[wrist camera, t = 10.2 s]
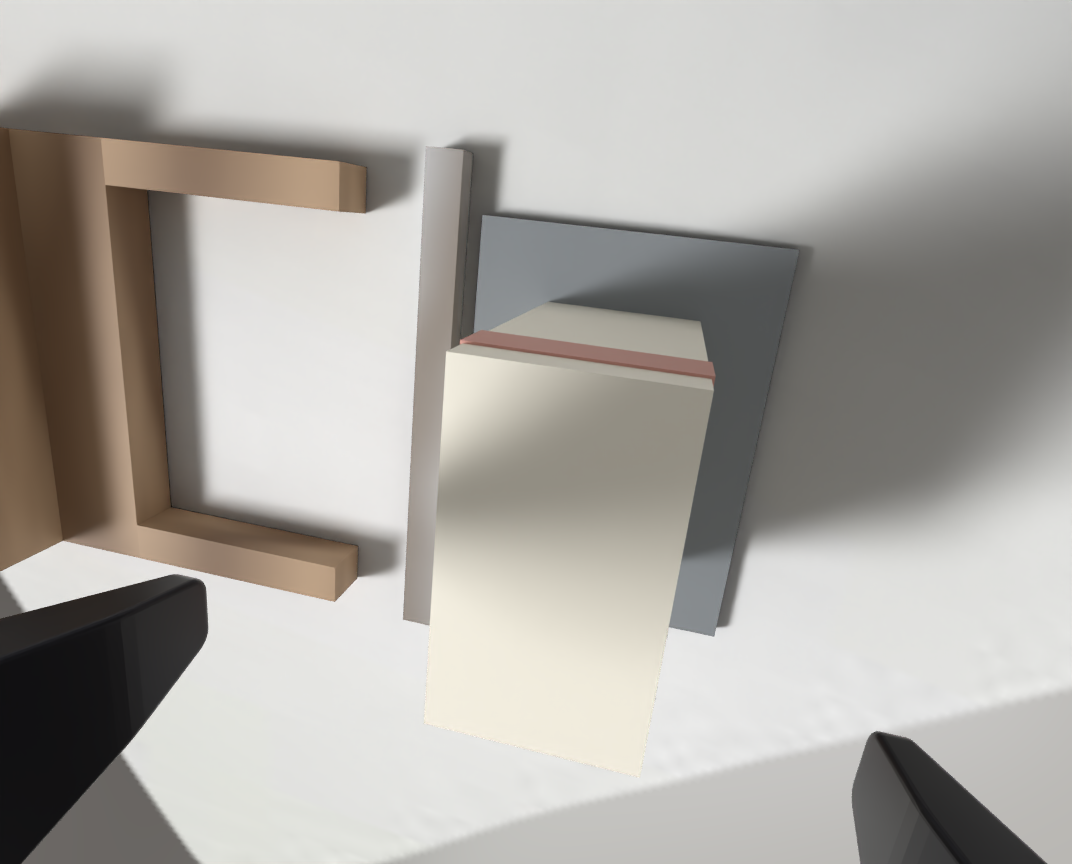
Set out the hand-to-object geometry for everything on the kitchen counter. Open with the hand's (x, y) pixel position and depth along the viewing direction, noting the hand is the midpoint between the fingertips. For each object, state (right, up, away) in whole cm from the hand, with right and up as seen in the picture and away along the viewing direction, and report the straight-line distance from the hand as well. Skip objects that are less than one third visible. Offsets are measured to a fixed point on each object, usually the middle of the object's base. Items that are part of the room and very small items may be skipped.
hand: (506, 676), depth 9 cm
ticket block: (+2, +3, +10) cm, 10 cm away
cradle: (-10, +5, +12) cm, 17 cm away
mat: (+2, +3, +10) cm, 11 cm away
